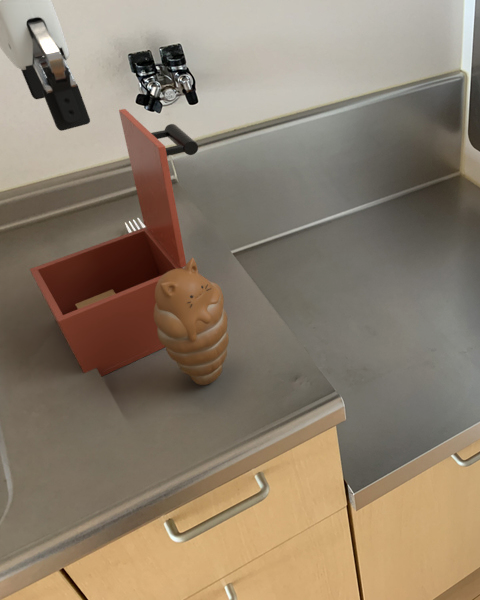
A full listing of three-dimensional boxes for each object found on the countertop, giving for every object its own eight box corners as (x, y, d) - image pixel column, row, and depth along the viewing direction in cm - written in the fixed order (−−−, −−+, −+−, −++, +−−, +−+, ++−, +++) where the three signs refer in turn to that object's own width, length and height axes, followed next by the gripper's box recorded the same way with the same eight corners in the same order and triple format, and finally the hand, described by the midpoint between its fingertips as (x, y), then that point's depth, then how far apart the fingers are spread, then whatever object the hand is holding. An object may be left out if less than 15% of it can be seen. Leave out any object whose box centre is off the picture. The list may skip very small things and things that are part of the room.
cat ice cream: (212, 413, 75) (176, 303, 63) (162, 392, 77) (119, 282, 65) (254, 365, 81) (229, 256, 69) (207, 347, 83) (175, 238, 71)
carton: (99, 351, 81) (86, 324, 78) (87, 331, 84) (74, 304, 81) (136, 335, 84) (125, 308, 80) (123, 315, 87) (112, 288, 83)
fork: (174, 292, 92) (171, 282, 90) (125, 232, 103) (121, 223, 102) (194, 283, 93) (191, 273, 92) (143, 225, 105) (140, 216, 104)
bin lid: (158, 147, 68) (207, 136, 71) (118, 109, 75) (164, 101, 78) (180, 268, 78) (223, 254, 81) (143, 224, 85) (183, 213, 88)
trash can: (88, 382, 78) (57, 321, 71) (60, 329, 86) (29, 268, 79) (202, 330, 86) (184, 269, 78) (167, 284, 93) (147, 226, 86)
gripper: (-74, -84, 58) (4, 93, 69) (-41, -51, 47) (45, 150, 59) (12, -93, 61) (73, 77, 72) (61, -64, 51) (123, 129, 62)
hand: (61, 110), depth 65 cm, fingers open, 9 cm apart
